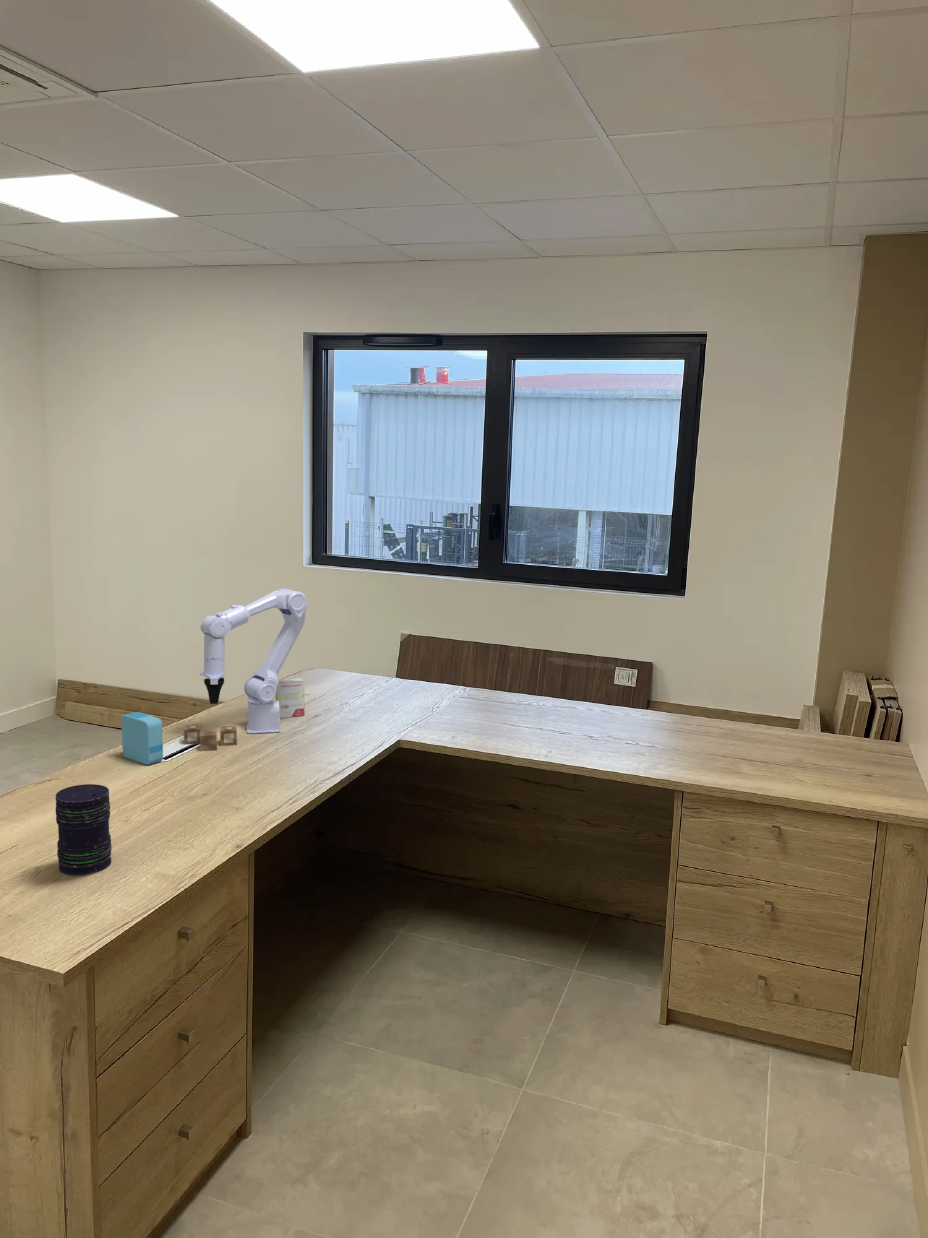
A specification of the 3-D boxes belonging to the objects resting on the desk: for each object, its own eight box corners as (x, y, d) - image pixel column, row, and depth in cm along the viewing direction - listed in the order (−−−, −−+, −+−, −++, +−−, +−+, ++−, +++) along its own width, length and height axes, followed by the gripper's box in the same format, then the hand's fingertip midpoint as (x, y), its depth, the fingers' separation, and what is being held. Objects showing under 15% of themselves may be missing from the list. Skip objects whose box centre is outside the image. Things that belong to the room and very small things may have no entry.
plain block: (216, 745, 253) (216, 730, 252) (216, 750, 249) (216, 735, 248) (200, 746, 252) (200, 731, 251) (200, 751, 247) (199, 736, 247)
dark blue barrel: (46, 870, 173) (42, 797, 170) (84, 850, 182) (81, 781, 179) (86, 879, 169) (83, 805, 167) (123, 859, 178) (120, 788, 176)
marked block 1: (200, 739, 258) (200, 724, 257) (200, 744, 254) (200, 728, 253) (184, 740, 257) (184, 724, 256) (184, 745, 253) (183, 729, 252)
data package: (163, 762, 237) (162, 719, 235) (148, 766, 234) (147, 722, 232) (137, 753, 244) (135, 710, 242) (122, 756, 241) (121, 714, 239)
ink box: (301, 712, 290) (301, 677, 288) (304, 716, 286) (304, 680, 284) (274, 714, 287) (274, 678, 285) (278, 718, 282) (278, 682, 280)
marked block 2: (236, 740, 258) (236, 725, 257) (236, 745, 254) (236, 729, 253) (220, 741, 257) (220, 726, 256) (220, 746, 252) (220, 730, 252)
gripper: (200, 652, 262) (200, 697, 264) (199, 662, 248) (199, 710, 250) (224, 652, 264) (224, 697, 266) (225, 662, 250) (225, 709, 252)
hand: (214, 703), depth 258 cm, fingers closed
